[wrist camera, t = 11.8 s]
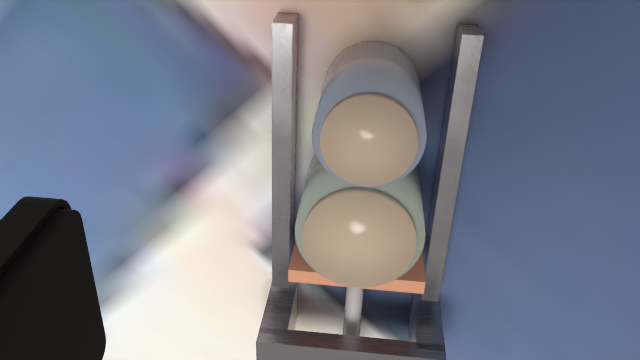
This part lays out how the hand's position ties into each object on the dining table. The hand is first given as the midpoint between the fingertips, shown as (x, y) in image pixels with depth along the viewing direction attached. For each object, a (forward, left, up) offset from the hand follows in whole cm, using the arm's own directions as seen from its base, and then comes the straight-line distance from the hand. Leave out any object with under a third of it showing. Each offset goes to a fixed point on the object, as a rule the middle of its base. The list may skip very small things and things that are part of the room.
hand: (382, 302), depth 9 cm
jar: (+5, 0, -23) cm, 24 cm away
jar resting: (+11, 0, -23) cm, 25 cm away
